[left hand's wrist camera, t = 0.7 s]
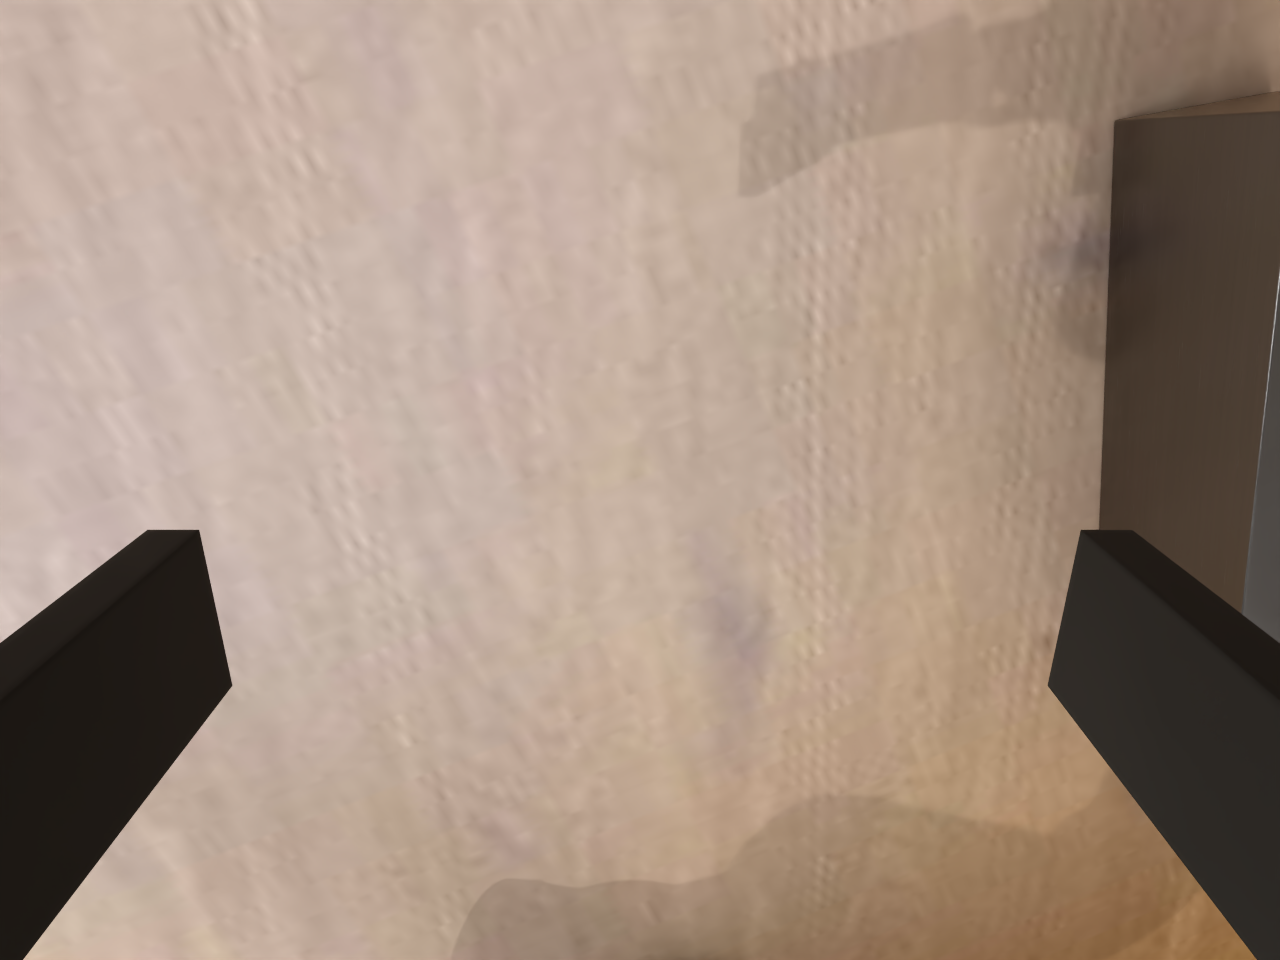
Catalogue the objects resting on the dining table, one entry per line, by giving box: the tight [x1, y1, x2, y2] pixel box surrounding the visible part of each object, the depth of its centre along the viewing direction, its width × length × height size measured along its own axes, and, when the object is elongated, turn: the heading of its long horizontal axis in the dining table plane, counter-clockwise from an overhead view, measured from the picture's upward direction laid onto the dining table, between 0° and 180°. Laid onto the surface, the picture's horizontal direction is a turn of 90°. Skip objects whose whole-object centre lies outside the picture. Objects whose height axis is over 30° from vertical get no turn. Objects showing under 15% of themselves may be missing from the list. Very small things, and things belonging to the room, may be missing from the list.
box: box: [1099, 91, 1280, 643], centre depth 33 cm, size 24×6×10 cm, turn 10°
